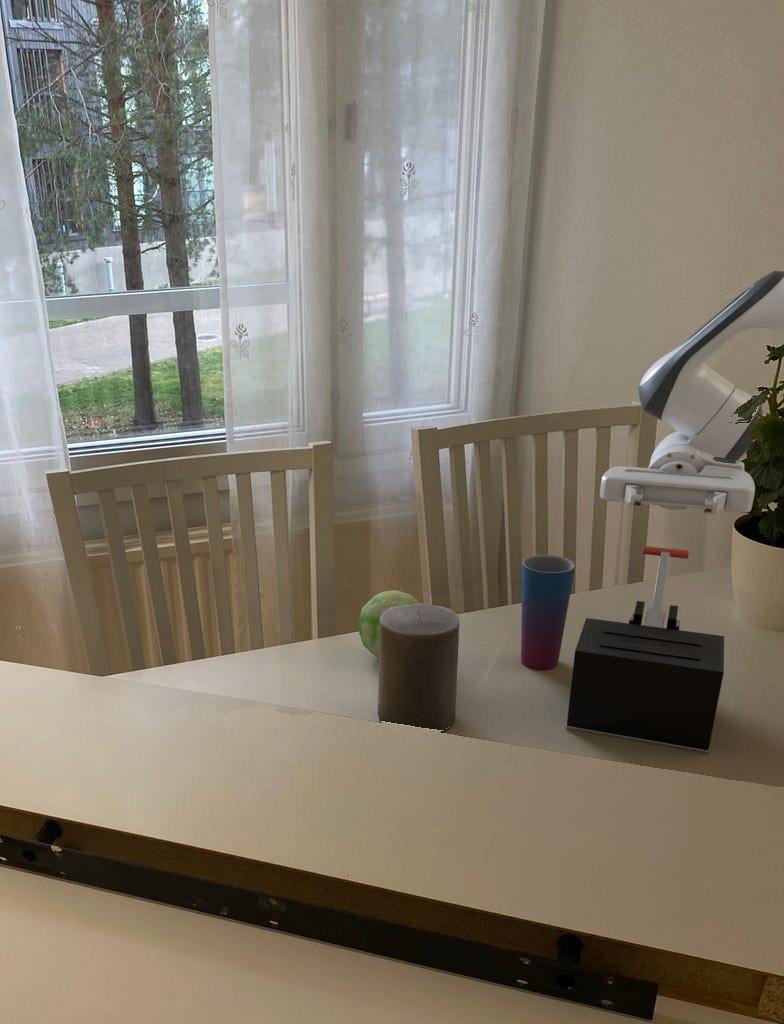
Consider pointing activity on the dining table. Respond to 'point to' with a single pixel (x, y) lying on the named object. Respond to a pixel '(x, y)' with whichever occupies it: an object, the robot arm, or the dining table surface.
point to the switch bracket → (639, 611)
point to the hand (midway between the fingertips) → (672, 504)
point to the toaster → (646, 684)
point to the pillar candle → (418, 666)
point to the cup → (544, 609)
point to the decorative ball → (372, 613)
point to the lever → (660, 582)
